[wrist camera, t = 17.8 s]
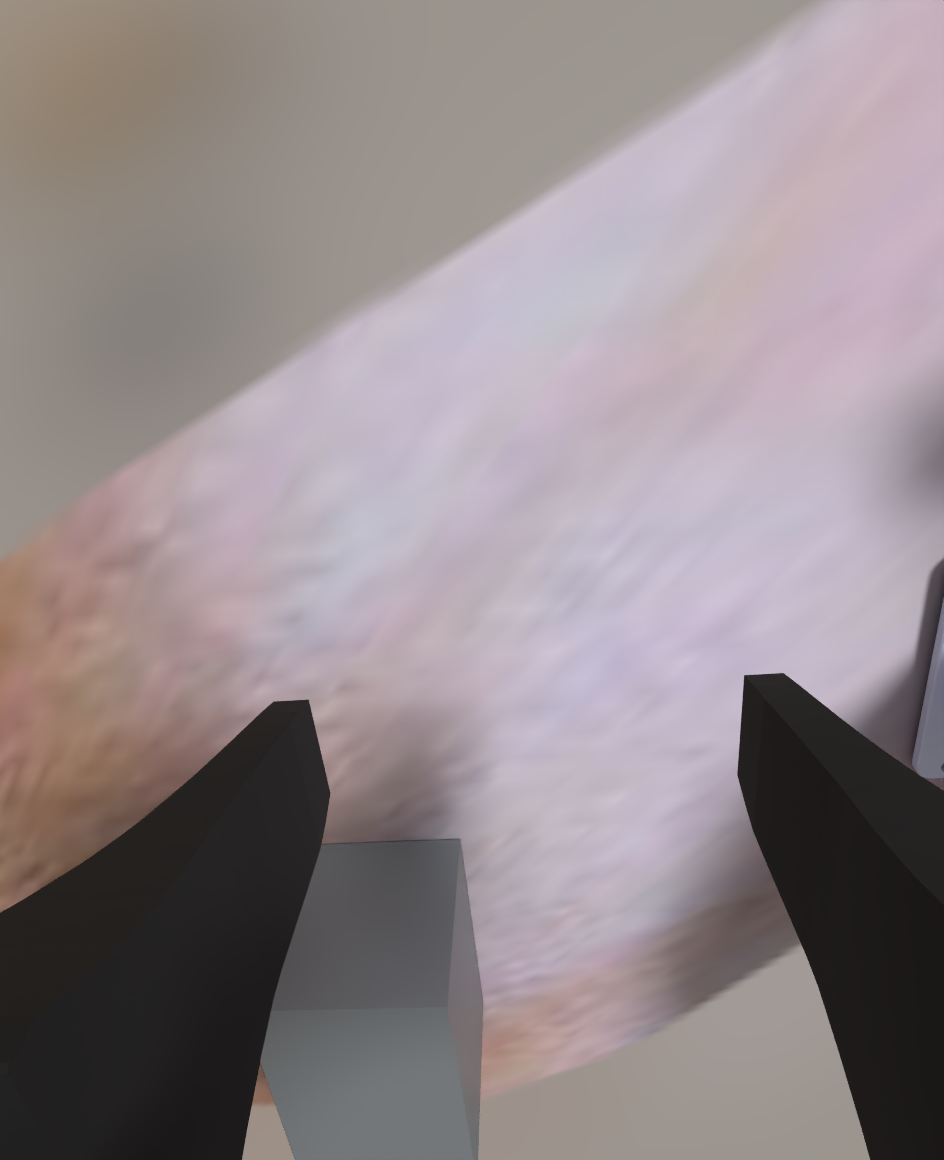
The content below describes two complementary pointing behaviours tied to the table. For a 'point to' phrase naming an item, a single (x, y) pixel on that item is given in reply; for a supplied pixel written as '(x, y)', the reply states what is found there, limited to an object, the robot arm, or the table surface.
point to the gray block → (380, 1009)
